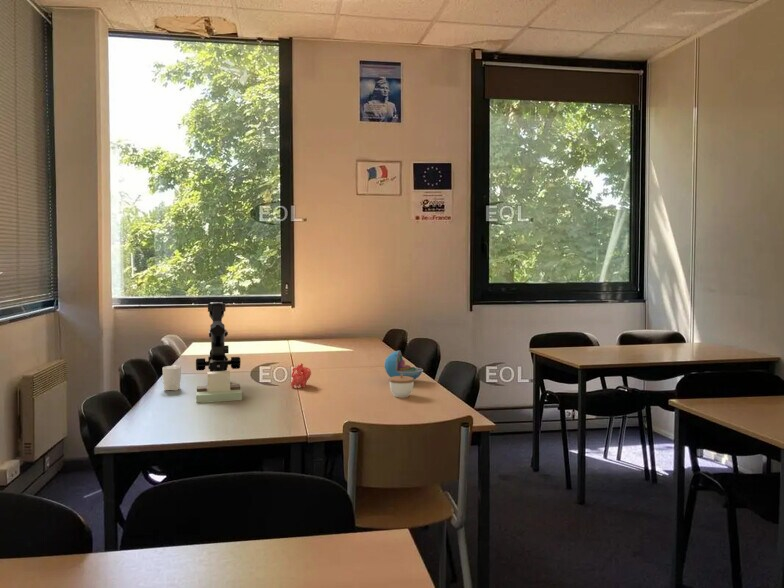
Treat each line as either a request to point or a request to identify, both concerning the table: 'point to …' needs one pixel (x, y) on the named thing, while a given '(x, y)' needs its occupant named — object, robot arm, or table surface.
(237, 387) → the strip
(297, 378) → the anatomical heart
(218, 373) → the cream block
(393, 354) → the educational model
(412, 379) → the lidded jar
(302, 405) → the table surface
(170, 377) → the white cup
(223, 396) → the pad
